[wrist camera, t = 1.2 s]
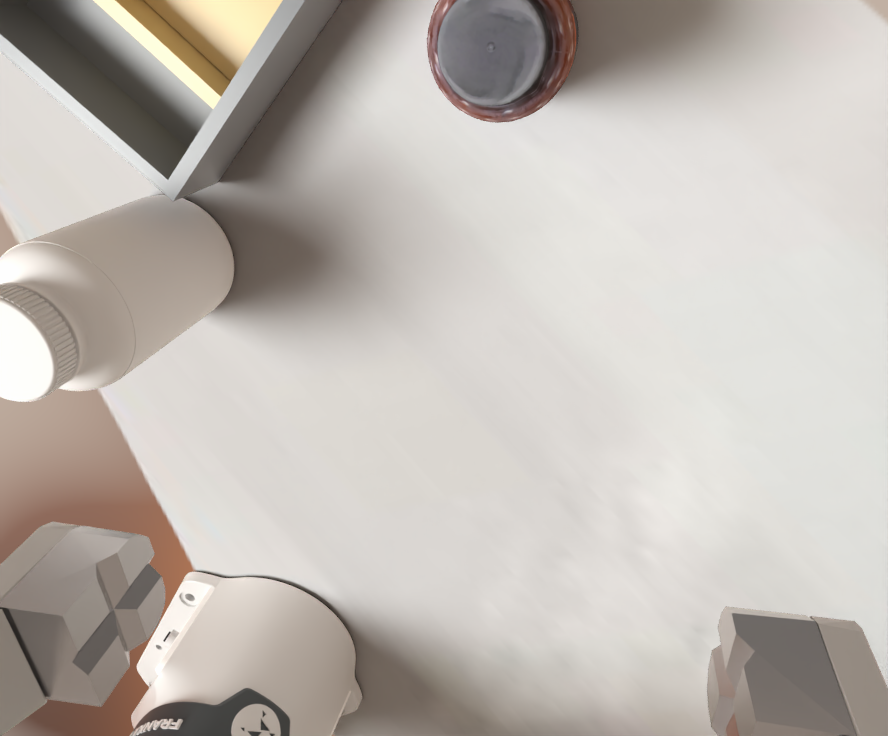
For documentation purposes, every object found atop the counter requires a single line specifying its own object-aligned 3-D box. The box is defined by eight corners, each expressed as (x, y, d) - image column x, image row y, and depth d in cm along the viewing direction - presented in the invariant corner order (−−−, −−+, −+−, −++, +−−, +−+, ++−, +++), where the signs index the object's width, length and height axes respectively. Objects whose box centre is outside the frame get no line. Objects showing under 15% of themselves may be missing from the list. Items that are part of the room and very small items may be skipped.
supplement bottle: (456, -23, 33) (401, -43, 24) (579, -36, 32) (575, -63, 22) (464, 106, 36) (418, 137, 26) (578, 98, 35) (575, 128, 25)
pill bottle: (164, 163, 41) (-38, 229, 28) (262, 261, 42) (117, 368, 29) (99, 246, 44) (-108, 341, 31) (192, 334, 46) (34, 459, 33)
